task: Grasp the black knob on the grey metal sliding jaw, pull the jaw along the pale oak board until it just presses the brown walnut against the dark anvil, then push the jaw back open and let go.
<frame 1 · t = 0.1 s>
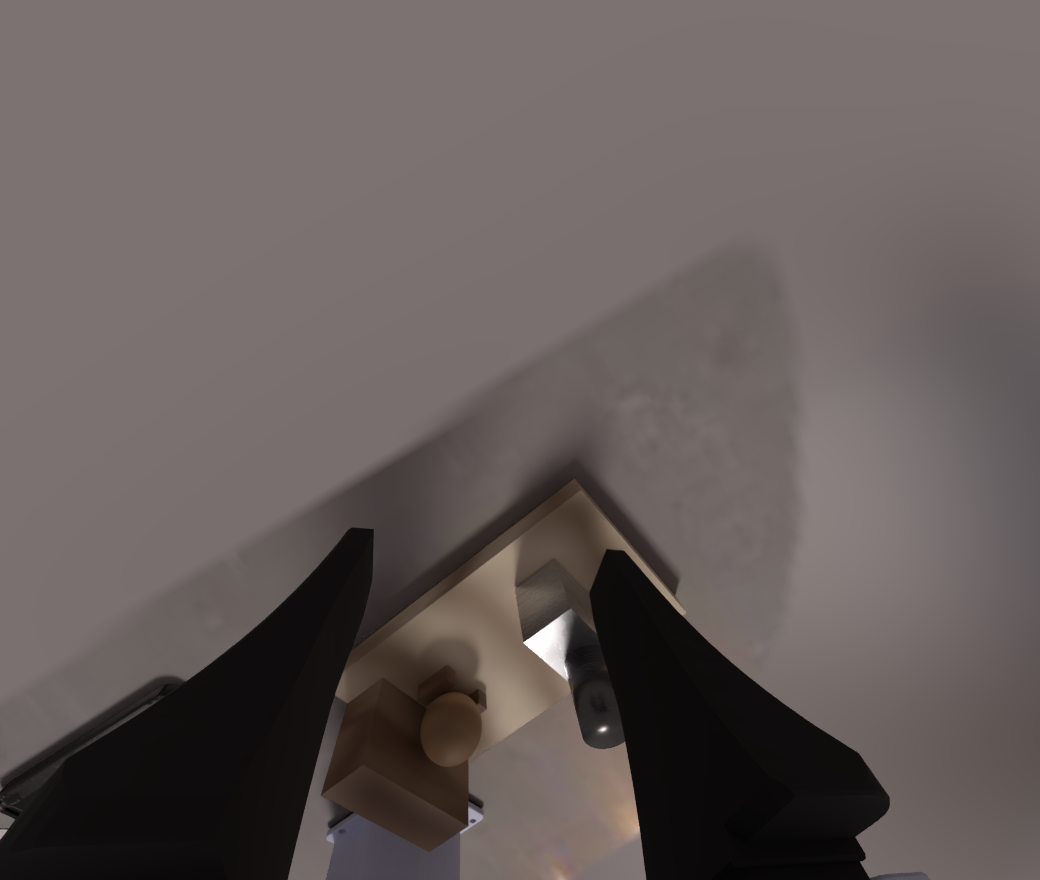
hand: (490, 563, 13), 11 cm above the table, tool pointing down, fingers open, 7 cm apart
sliding jaw: (585, 658, 21), point 5 cm above the table, slide at 0.0 cm
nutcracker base: (507, 630, 27), on the table
walnut: (451, 727, 24), point 4 cm above the table, touching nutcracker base
phone: (141, 757, 28), on the table
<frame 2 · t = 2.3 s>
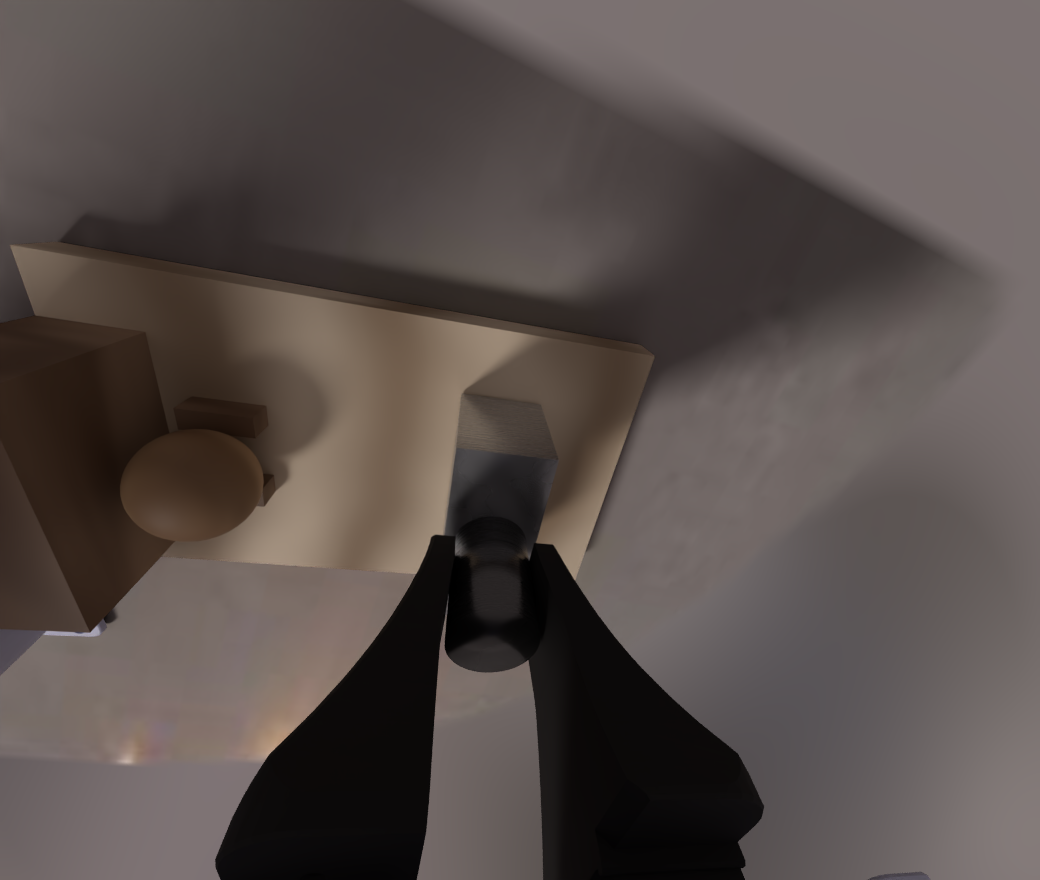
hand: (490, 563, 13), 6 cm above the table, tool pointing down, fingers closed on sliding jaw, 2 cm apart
sliding jaw: (489, 539, 13), point 5 cm above the table, slide at 0.0 cm, touching gripper
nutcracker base: (377, 443, 17), on the table
walnut: (197, 484, 13), point 4 cm above the table, touching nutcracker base
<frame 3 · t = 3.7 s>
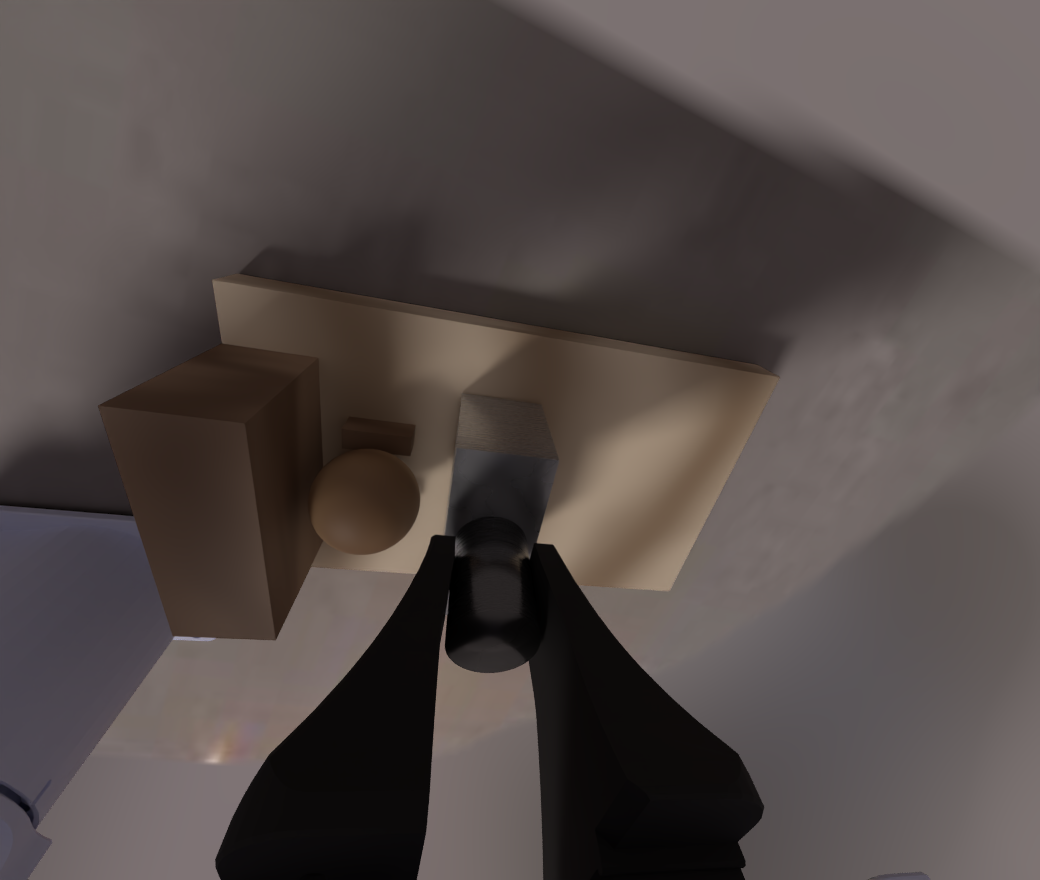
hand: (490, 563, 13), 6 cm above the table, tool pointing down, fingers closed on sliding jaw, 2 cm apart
sliding jaw: (490, 539, 13), point 5 cm above the table, slide at 5.2 cm, touching gripper
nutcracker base: (499, 457, 18), on the table
walnut: (366, 500, 14), point 4 cm above the table, touching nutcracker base
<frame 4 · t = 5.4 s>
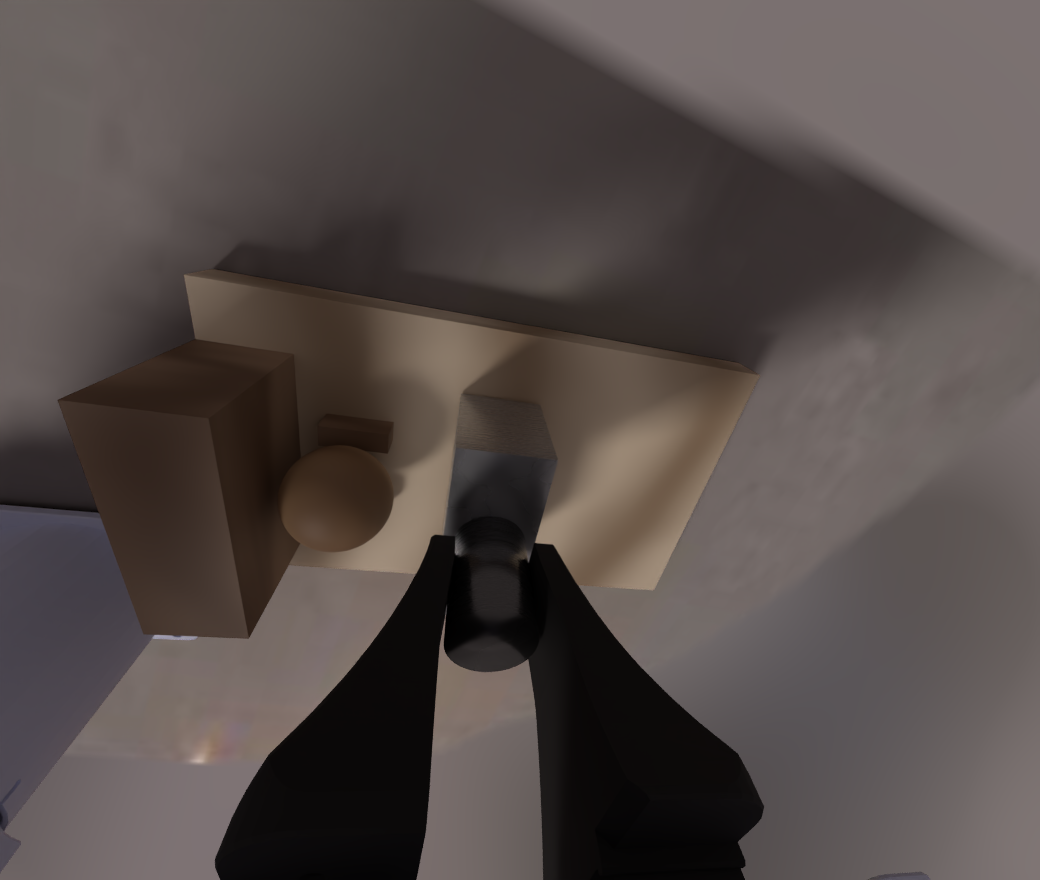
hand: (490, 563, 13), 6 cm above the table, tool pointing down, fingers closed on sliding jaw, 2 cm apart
sliding jaw: (488, 539, 14), point 5 cm above the table, slide at 4.5 cm, touching gripper
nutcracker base: (480, 455, 18), on the table
walnut: (338, 497, 14), point 4 cm above the table, touching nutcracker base
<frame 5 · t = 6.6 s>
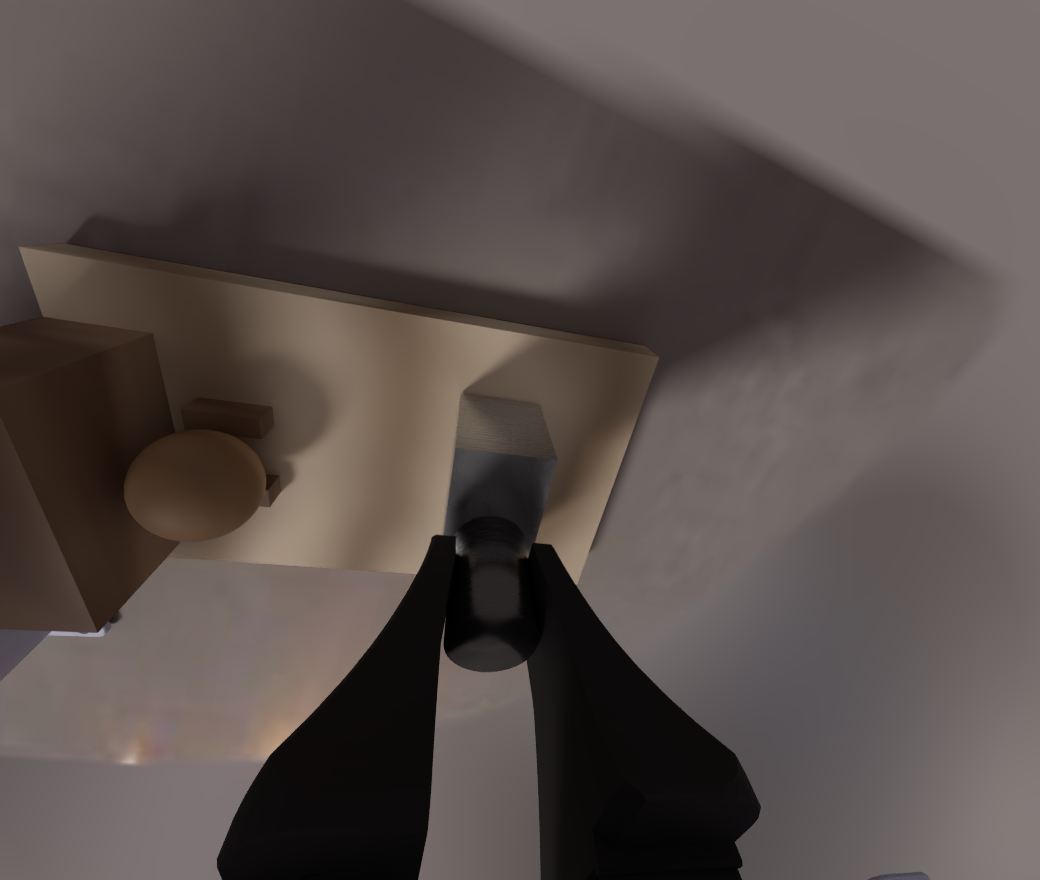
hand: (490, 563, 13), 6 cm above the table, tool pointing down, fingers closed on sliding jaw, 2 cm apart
sliding jaw: (488, 539, 14), point 5 cm above the table, slide at 0.2 cm, touching gripper
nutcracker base: (382, 443, 17), on the table
walnut: (200, 484, 13), point 4 cm above the table, touching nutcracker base
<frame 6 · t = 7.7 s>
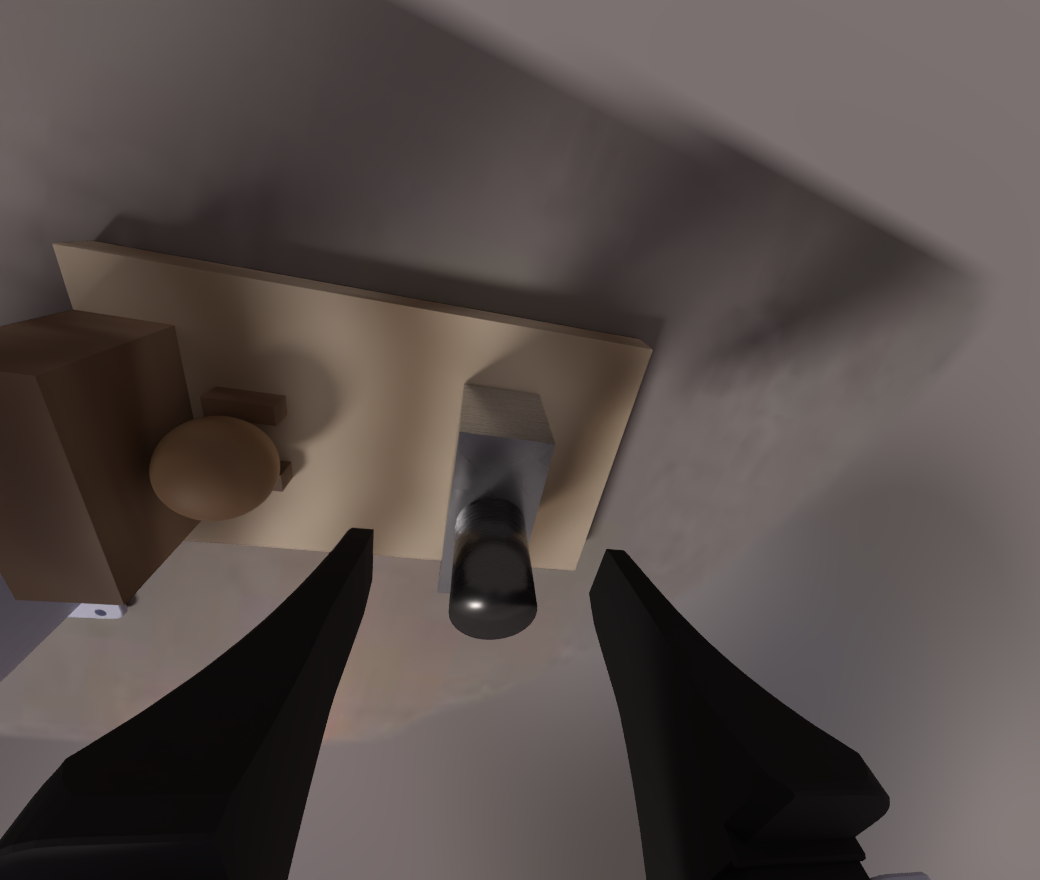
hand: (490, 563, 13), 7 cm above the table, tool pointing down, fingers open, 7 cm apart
sliding jaw: (490, 520, 14), point 5 cm above the table, slide at 0.2 cm
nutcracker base: (388, 432, 18), on the table
walnut: (219, 467, 14), point 4 cm above the table, touching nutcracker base
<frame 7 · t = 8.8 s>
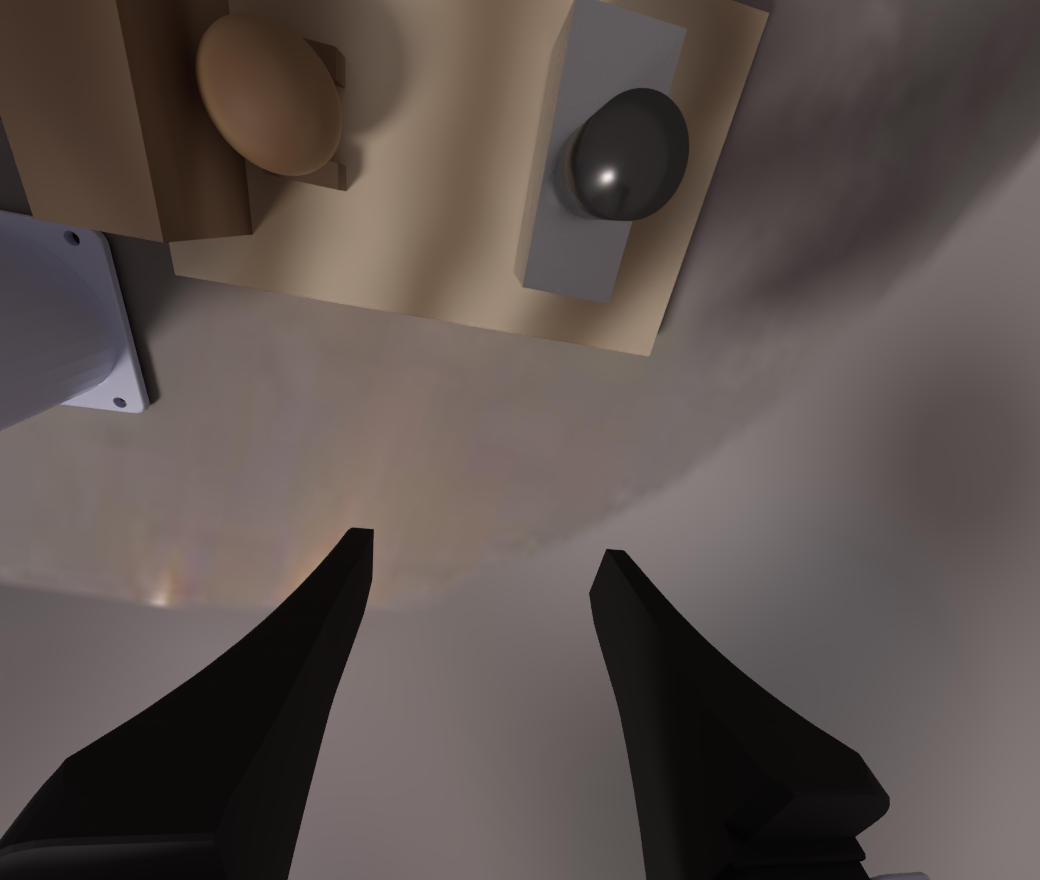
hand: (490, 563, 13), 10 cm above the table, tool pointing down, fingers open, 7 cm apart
sliding jaw: (593, 173, 12), point 5 cm above the table, slide at 0.2 cm
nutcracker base: (452, 158, 16), on the table
walnut: (274, 101, 12), point 4 cm above the table, touching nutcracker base
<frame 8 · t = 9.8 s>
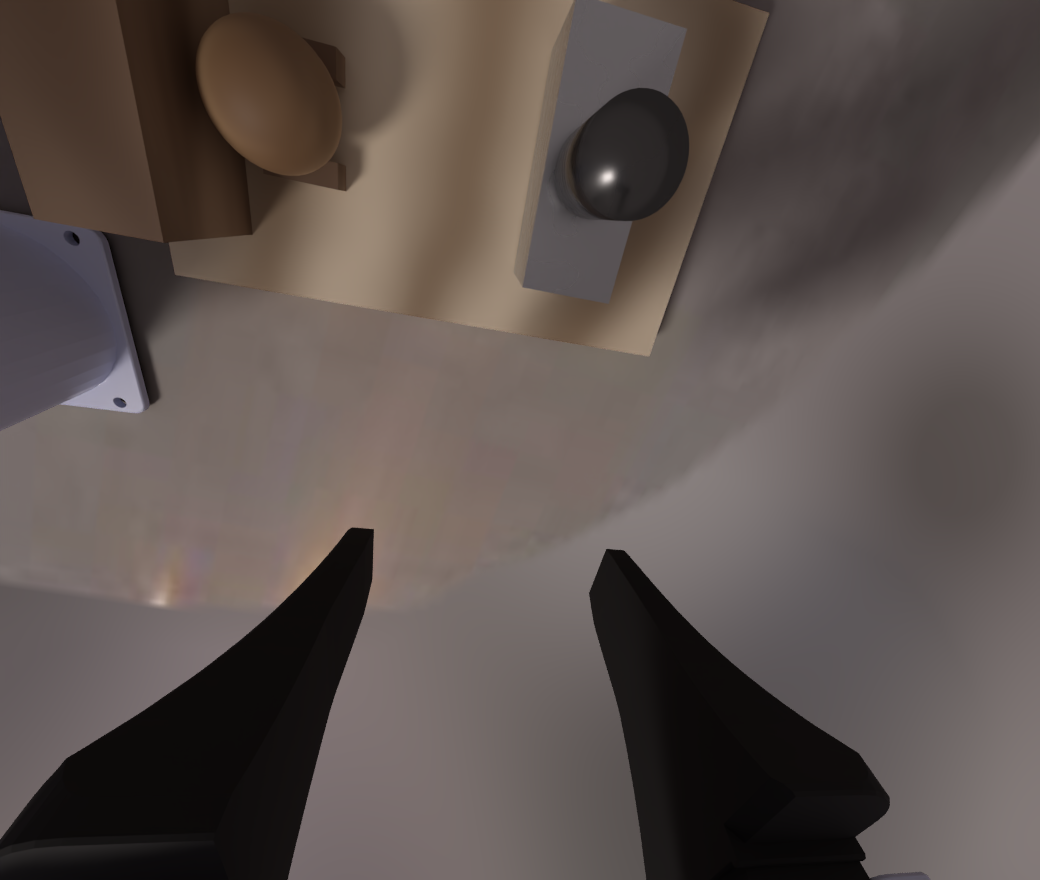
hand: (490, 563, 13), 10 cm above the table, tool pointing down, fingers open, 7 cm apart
sliding jaw: (593, 173, 12), point 5 cm above the table, slide at 0.2 cm
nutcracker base: (452, 158, 16), on the table
walnut: (274, 101, 12), point 4 cm above the table, touching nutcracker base
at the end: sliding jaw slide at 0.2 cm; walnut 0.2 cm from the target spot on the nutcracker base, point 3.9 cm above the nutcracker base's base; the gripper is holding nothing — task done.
